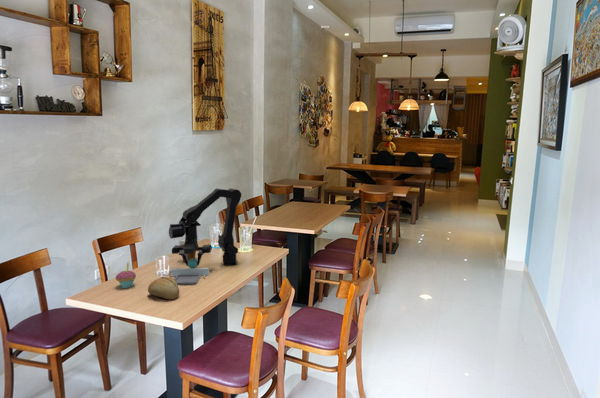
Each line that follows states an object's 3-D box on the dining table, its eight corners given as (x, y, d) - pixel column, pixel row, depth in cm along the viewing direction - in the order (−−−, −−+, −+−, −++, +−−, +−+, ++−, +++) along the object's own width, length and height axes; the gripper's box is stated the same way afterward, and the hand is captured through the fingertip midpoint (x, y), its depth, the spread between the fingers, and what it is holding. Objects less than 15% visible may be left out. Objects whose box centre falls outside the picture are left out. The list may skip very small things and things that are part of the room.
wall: (209, 274, 218) (208, 267, 218) (208, 275, 217) (208, 268, 216) (172, 275, 218) (171, 268, 217) (171, 276, 217) (170, 269, 216)
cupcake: (140, 284, 207) (138, 259, 205) (128, 290, 199) (125, 264, 197) (125, 282, 210) (123, 257, 208) (112, 288, 202) (110, 262, 200)
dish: (200, 276, 216) (200, 274, 215) (195, 284, 205) (195, 282, 204) (177, 277, 215) (177, 274, 215) (171, 285, 205) (171, 282, 204)
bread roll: (158, 290, 199) (157, 273, 198) (185, 295, 193) (184, 277, 192) (142, 297, 191) (141, 279, 189) (170, 303, 184) (169, 284, 183)
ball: (199, 266, 227) (198, 257, 226) (197, 269, 222) (196, 259, 221) (189, 266, 226) (188, 257, 226) (186, 269, 222) (186, 260, 221)
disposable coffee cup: (195, 263, 236) (194, 241, 234) (177, 263, 236) (176, 241, 234) (200, 258, 246) (198, 237, 244) (182, 258, 246) (181, 237, 244)
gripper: (167, 239, 213) (169, 271, 216) (207, 239, 213) (208, 270, 216) (173, 234, 224) (175, 264, 227) (211, 233, 224) (212, 263, 227)
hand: (192, 265), depth 224 cm, fingers closed on ball, 5 cm apart
